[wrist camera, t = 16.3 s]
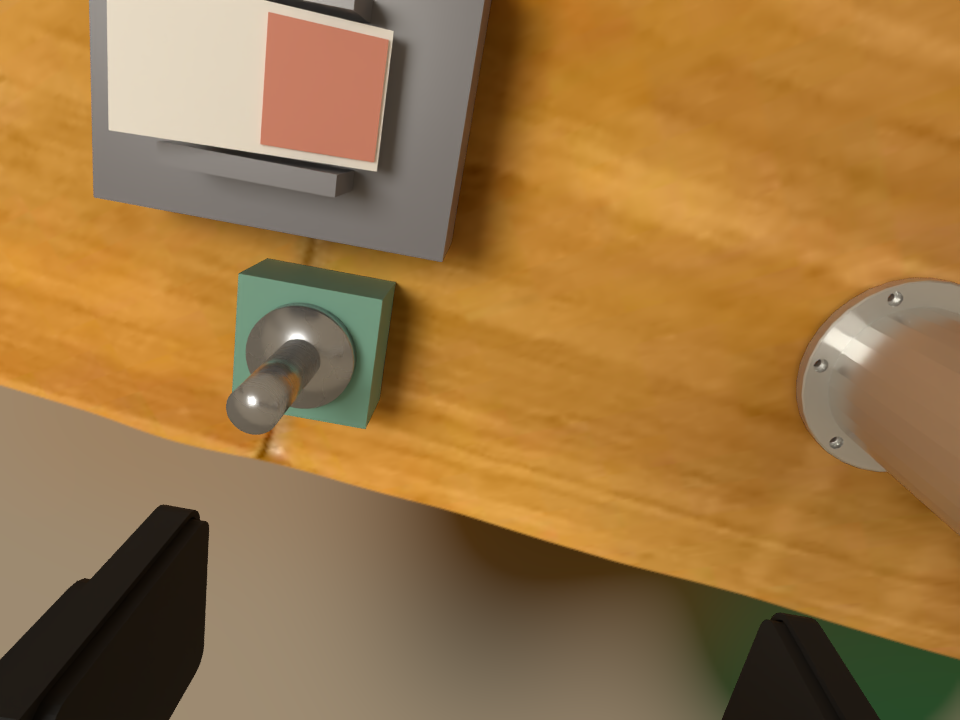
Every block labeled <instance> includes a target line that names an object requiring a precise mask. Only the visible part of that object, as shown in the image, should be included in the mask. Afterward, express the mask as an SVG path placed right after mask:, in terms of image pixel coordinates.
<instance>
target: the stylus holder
mask: <svg viewBox="0 0 960 720" xmlns="http://www.w3.org/2000/svg"><path fill="white" fill-rule="evenodd" d="M395 284H396V282H392V281H387V280H381V279H376V278H371V277H365V276H360V275H354V274H349V273H344V272H338V271H333V270H327V269H322V268H317V267H311V266H306V265H300V264H295V263H290V262H284V261H279V260H273V259H268V258H267V259H265V260H263V261H261V262H259V263H258V264H256V265H254V266H252V267H250V268H248V269H246V270H244V271H242V272H241V273H239V277H238V296H237V314H236V333H235V351H234V370H233V388H232V392H233V391H234V390H235V389H236V388H238V387H239V386H240V385H241V384H242V383H243V382H244V381H245V380H246V379H247V378H248V377H249V376H250V375H251V374H250V372H249V369H248V366H247V362H246V343H247V339H248V336H249V334H250V332H251V330H252V328H253V327H254V325H255V324H256V323H257V322H258V321H259V320H260V319H261V318H262V317H264V316H265V315H266V314H267V313H269V312H270V311H272V310H273V309H275V308H277V307H279V306H281V305H285V304H288V303H310V304H314V305H317V306H320V307H322V308H324V309H326V310H328V311H330V312H331V313H333V314H334V315H335V316H337V317H338V318H339V319H340V320H341V321H342V322H343V323H344V324H345V326H346V327H347V329H348V330H349V332H350V334H351V336H352V338H353V340H354V343H355V347H356V354H357V360H356V367H355V371H354V374H353V376H352V378H351V380H350V382H349V383H348V385H347V387H346V388H345V389H344V391H343V392H342V393H341V394H340V395H339V396H338V397H337V398H336V399H334V400H333V401H332V402H330V403H328V404H326V405H323V406H321V407H317V408H310V409H299V408H293V407H289V408H288V410H287V411H286V412H285V414H284V415H290V416H295V417H301V418H307V419H312V420H318V421H323V422H329V423H335V424H340V425H346V426H351V427H357V428H362V429H366V427H367V425H368V423H369V421H370V418H371V416H372V414H373V412H374V410H375V408H376V406H377V404H378V401H379V399H380V392H381V385H382V378H383V370H384V363H385V356H386V349H387V341H388V334H389V327H390V320H391V313H392V305H393V298H394V291H395Z"/></svg>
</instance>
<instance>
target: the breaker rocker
mask: <svg viewBox="0 0 960 720" xmlns="http://www.w3.org/2000/svg"><path fill="white" fill-rule="evenodd" d="M393 33H394V31H391V30H387V29H383V28H379V27H375V26H370V25H366V24H362V23H358V22H354V21H349V20H345V19H341V18H337V17H333V16H329V15H324V14H320V13H316V12H312V11H308V10H303V9H299V8H295V7H291V6H287V5H282V4H278V3H274V2H270V1H266V0H107V55H108V123H109V130H111V131H118V132H124V133H130V134H137V135H143V136H150V137H156V138H163V139H169V140H176V141H182V142H189V143H195V144H202V145H208V146H214V147H221V148H227V149H234V150H240V151H247V152H253V153H260V154H266V155H273V156H279V157H286V158H292V159H298V160H305V161H311V162H318V163H324V164H331V165H337V166H344V167H350V168H357V169H363V170H370V171H376V172H377V165H378V157H379V149H380V141H381V132H382V124H383V116H384V108H385V99H386V91H387V83H388V75H389V66H390V58H391V50H392V42H393Z"/></svg>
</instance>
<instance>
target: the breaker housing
mask: <svg viewBox="0 0 960 720" xmlns="http://www.w3.org/2000/svg"><path fill="white" fill-rule="evenodd" d="M266 1H270V2H274V3H278V4H282V5H287V6H291V7H295V8H299V9H303V10H308V11H312V12H316V13H320V14H324V15H329V16H333V17H337V18H341V19H345V20H349V21H354V22H358V23H362V24H366V25H370V26H375V27H379V28H383V29H387V30H391V31H394V33H393V42H392V50H391V58H390V66H389V75H388V83H387V91H386V99H385V108H384V116H383V124H382V132H381V141H380V149H379V157H378V165H377V172H376V171H370V170H363V169H357V168H350V167H344V166H337V165H331V164H324V163H318V162H311V161H305V160H298V159H292V158H286V157H279V156H273V155H266V154H260V153H253V152H247V151H240V150H234V149H227V148H221V147H214V146H208V145H202V144H195V143H189V142H182V141H176V140H169V139H163V138H156V137H150V136H143V135H137V134H130V133H124V132H118V131H111V130H109V123H108V55H107V0H89V15H90V59H91V103H92V147H93V191H94V197H95V198H101V199H106V200H112V201H117V202H122V203H128V204H133V205H138V206H144V207H149V208H154V209H160V210H165V211H171V212H176V213H181V214H187V215H192V216H197V217H203V218H208V219H214V220H219V221H224V222H230V223H235V224H240V225H246V226H251V227H256V228H262V229H267V230H273V231H278V232H283V233H289V234H294V235H299V236H305V237H310V238H315V239H321V240H326V241H332V242H337V243H342V244H348V245H353V246H358V247H364V248H369V249H375V250H380V251H385V252H391V253H396V254H401V255H407V256H412V257H417V258H423V259H428V260H434V261H439V262H443V259H444V257H445V255H446V253H447V251H448V249H449V247H450V245H451V243H452V237H453V231H454V225H455V219H456V213H457V206H458V200H459V194H460V188H461V182H462V176H463V170H464V164H465V158H466V152H467V146H468V140H469V134H470V128H471V122H472V116H473V110H474V103H475V97H476V91H477V85H478V79H479V73H480V67H481V61H482V55H483V49H484V43H485V37H486V31H487V25H488V19H489V13H490V6H491V0H266Z"/></svg>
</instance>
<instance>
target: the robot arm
mask: <svg viewBox="0 0 960 720" xmlns="http://www.w3.org/2000/svg"><path fill="white" fill-rule="evenodd" d="M890 294H891V295H890ZM889 296H890V297H889ZM888 297H889V298H888ZM816 361H818V362H817V363H816V364H815V362H816ZM796 398H797V403H798V408H799V412H800V416H801V418H802V420H803V422H804V424H805V426H806V428H807V430H808V431H809V432H810V434H811V435H812V436H813V437H814V439H815V440H816V441H817V442H818V443H819V444H820V445H821V446H822V447H823V448H824V449H825V450H826V451H827V452H828V453H829V454H831V455H833V456H834V457H836V458H837V459H839V460H840V461H842V462H844V463H846V464H849V465H852V466H854V467H857V468H860V469H865V470H870V471H876V472H889V473H890V474H891V475H892V476H893V477H894V478H895V479H896V480H898V481H899V482H900V483H901V484H902V485H903V486H904V487H905V488H907V489H908V490H909V491H910V492H911V493H912V494H913V495H914V496H916V497H917V498H918V499H919V500H920V501H921V502H922V503H923V504H925V505H926V506H927V507H928V508H929V509H930V510H931V511H932V512H934V513H935V514H936V515H937V516H938V517H939V518H940V519H941V520H943V521H944V522H945V523H946V524H947V525H948V526H949V527H950V528H952V529H953V530H954V531H955V532H956V533H957V534H958V535H959V536H960V284H957V283H954V282H951V281H946V280H940V279H935V278H908V279H903V280H897V281H892V282H888V283H885V284H883V285H880V286H877V287H874V288H871V289H869V290H867V291H865V292H864V293H862V294H860V295H858V296H856V297H854V298H853V299H851V300H849V301H848V302H847V303H846V304H844V305H843V306H842V307H840V308H839V309H838V310H837V311H835V312H834V313H833V314H832V315H831V316H830V317H829V318H828V319H827V320H826V322H825V323H824V324H823V325H822V326H821V327H820V328H819V329H818V331H817V332H816V334H815V335H814V337H813V338H812V340H811V341H810V343H809V345H808V346H807V349H806V351H805V353H804V356H803V358H802V361H801V363H800V367H799V372H798V377H797V392H796ZM208 540H209V525H208V522H206V521H201V520H200V516H199V513H198V511H196V510H191V509H185V508H180V507H174V506H169V505H160V506H159V507H157V508H156V509H155V510H154V511H153V512H152V514H151V515H150V516H149V517H148V518H147V519H146V520H145V521H144V522H143V523H142V524H141V525H140V527H139V528H138V529H137V530H136V531H135V532H134V533H133V534H132V535H131V536H130V537H129V538H128V539H127V541H126V542H125V543H124V544H123V545H122V546H121V547H120V548H119V549H118V550H117V551H116V552H115V553H114V554H113V556H112V557H111V558H110V559H109V560H108V561H107V562H106V563H105V564H104V565H103V566H102V567H101V569H100V570H99V571H98V572H97V573H96V574H95V575H94V576H93V577H92V578H91V579H86V578H84V579H81V580H79V581H77V582H76V583H74V584H73V585H72V586H71V587H70V588H69V589H68V590H67V591H66V592H65V593H64V594H63V595H62V596H61V597H60V598H59V599H58V600H57V601H56V602H55V603H54V604H53V605H52V606H51V607H50V608H49V609H48V610H47V612H46V613H45V614H44V615H43V616H42V617H41V618H40V619H39V620H38V621H37V622H36V623H35V624H34V625H33V626H32V627H31V628H30V629H29V630H28V631H27V632H26V633H25V634H24V635H23V636H22V638H21V639H20V640H19V641H18V642H17V643H16V644H15V645H14V646H13V647H12V648H11V649H10V650H9V651H8V652H7V653H6V654H5V655H4V656H3V657H2V658H1V659H0V720H169V719H170V717H171V715H172V714H173V712H174V710H175V708H176V707H177V705H178V703H179V701H180V699H181V698H182V696H183V694H184V693H185V691H186V689H187V687H188V686H189V684H190V682H191V680H192V679H193V677H194V675H195V673H196V671H197V669H198V667H199V665H200V662H201V658H202V655H203V649H204V631H205V608H206V586H207V564H208ZM722 720H880V719H879V717H878V716H877V714H876V712H875V711H874V709H873V708H872V706H871V705H870V703H869V702H868V700H867V698H866V697H865V696H864V694H863V692H862V691H861V689H860V687H859V686H858V684H857V683H856V681H855V680H854V678H853V677H852V675H851V674H850V672H849V670H848V669H847V667H846V666H845V664H844V662H843V661H842V659H841V658H840V656H839V655H838V653H837V651H836V650H835V648H834V647H833V645H832V643H831V642H830V640H829V639H828V637H827V636H826V634H825V632H824V631H823V629H822V628H821V626H820V625H819V624H818V622H817V621H816V620H814V619H812V618H808V617H802V616H797V615H791V614H785V613H776V614H775V615H773V617H772V618H771V620H764V621H763V622H762V624H761V625H760V628H759V630H758V632H757V635H756V638H755V640H754V642H753V645H752V647H751V649H750V652H749V654H748V657H747V660H746V662H745V664H744V667H743V669H742V672H741V674H740V676H739V679H738V681H737V683H736V686H735V688H734V691H733V693H732V696H731V698H730V701H729V703H728V706H727V708H726V710H725V713H724V715H723V718H722Z"/></svg>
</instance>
